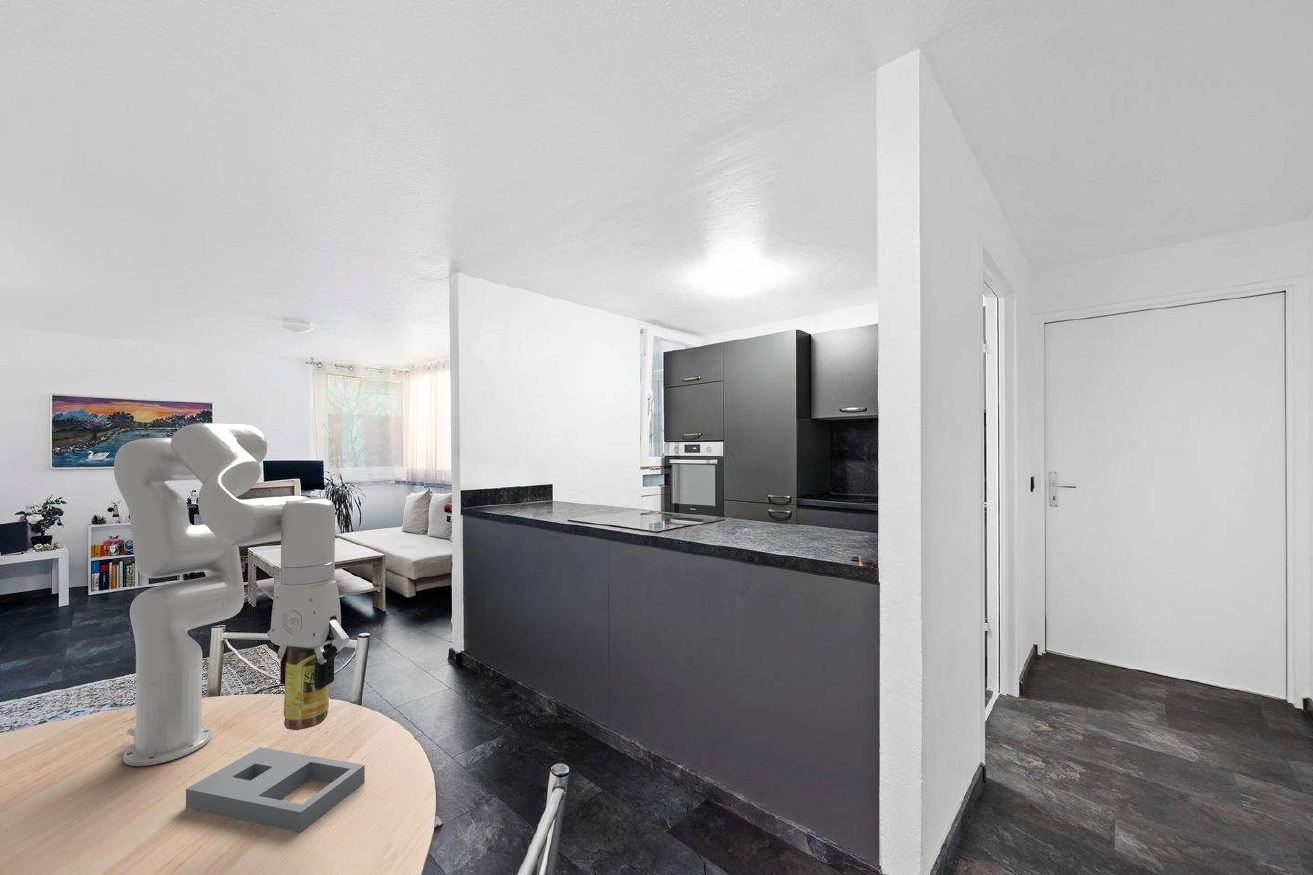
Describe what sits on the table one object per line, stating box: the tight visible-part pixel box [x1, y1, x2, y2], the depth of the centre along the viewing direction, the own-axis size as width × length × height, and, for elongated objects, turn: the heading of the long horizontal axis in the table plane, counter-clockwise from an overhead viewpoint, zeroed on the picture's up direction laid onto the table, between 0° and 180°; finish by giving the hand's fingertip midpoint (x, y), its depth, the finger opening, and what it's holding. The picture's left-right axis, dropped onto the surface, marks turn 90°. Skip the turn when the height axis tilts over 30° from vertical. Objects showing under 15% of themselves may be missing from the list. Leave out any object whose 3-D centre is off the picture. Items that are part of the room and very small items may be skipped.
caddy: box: [185, 746, 366, 833], centre depth 90 cm, size 23×12×3 cm, turn 76°
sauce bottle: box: [283, 645, 330, 731], centre depth 89 cm, size 7×6×20 cm
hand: (307, 681), depth 89 cm, fingers closed on sauce bottle, 6 cm apart
